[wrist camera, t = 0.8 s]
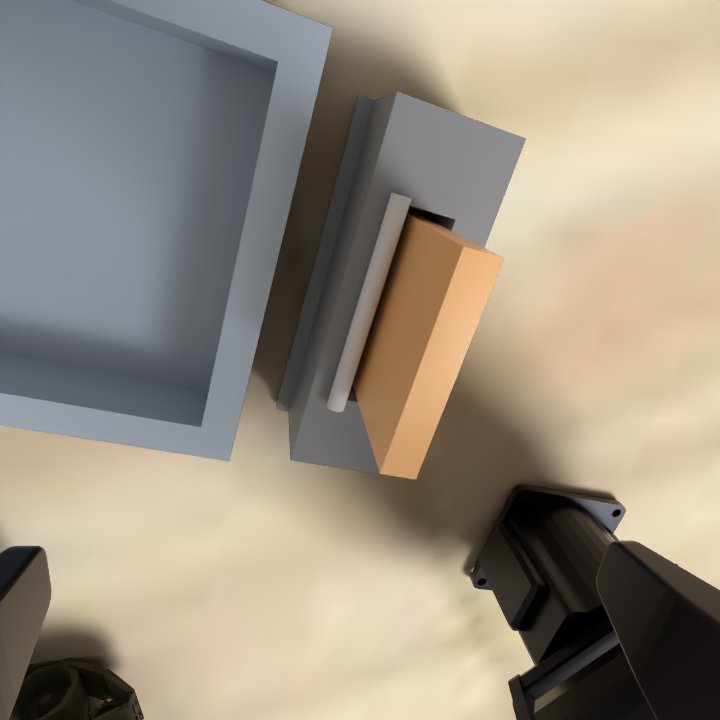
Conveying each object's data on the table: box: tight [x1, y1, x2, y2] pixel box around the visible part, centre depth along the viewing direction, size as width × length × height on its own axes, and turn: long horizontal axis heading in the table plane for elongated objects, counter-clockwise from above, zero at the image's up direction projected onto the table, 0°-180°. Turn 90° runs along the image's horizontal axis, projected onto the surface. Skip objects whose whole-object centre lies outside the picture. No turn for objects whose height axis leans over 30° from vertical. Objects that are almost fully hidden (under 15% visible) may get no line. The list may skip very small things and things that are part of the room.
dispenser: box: [277, 91, 526, 477], centre depth 18 cm, size 5×12×5 cm, turn 164°
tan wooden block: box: [352, 210, 504, 480], centre depth 16 cm, size 1×6×8 cm, turn 164°
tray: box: [0, 0, 333, 461], centre depth 16 cm, size 13×14×3 cm
